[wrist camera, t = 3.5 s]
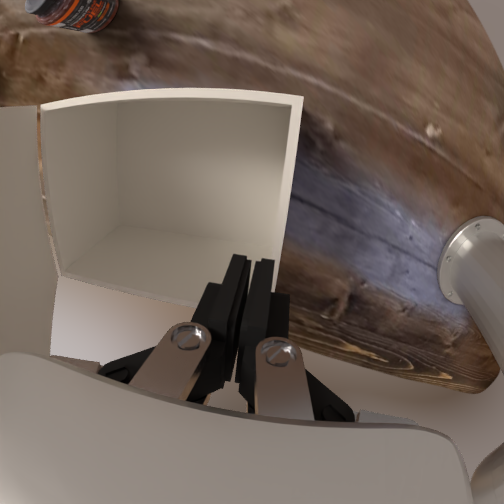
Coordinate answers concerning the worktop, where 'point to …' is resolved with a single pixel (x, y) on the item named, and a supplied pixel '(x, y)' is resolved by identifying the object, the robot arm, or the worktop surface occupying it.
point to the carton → (168, 185)
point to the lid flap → (23, 239)
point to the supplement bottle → (74, 13)
